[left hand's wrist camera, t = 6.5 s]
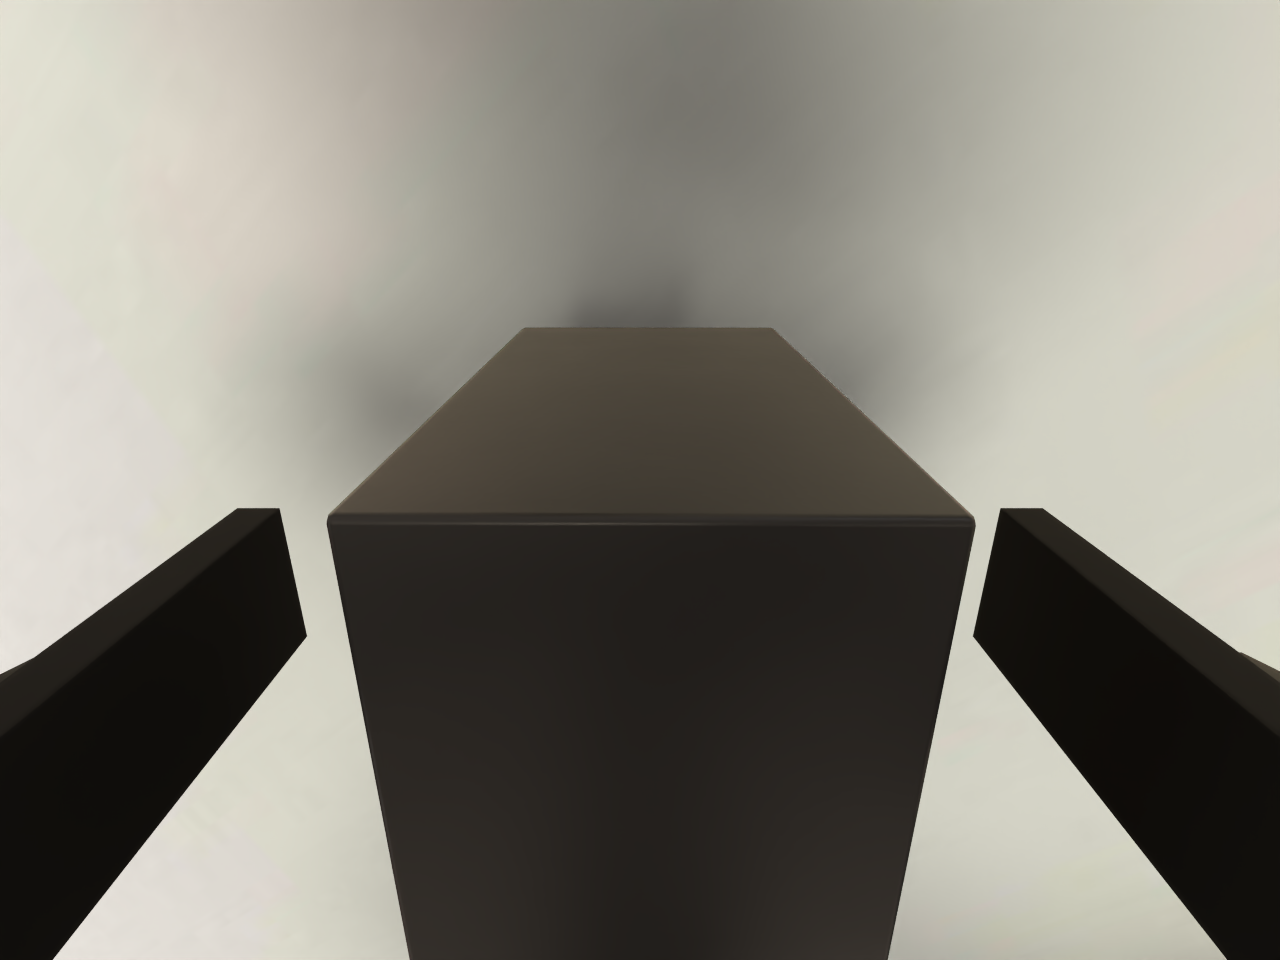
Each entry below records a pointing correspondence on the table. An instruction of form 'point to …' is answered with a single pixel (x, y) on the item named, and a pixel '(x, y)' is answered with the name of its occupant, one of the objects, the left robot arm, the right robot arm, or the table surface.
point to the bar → (649, 653)
